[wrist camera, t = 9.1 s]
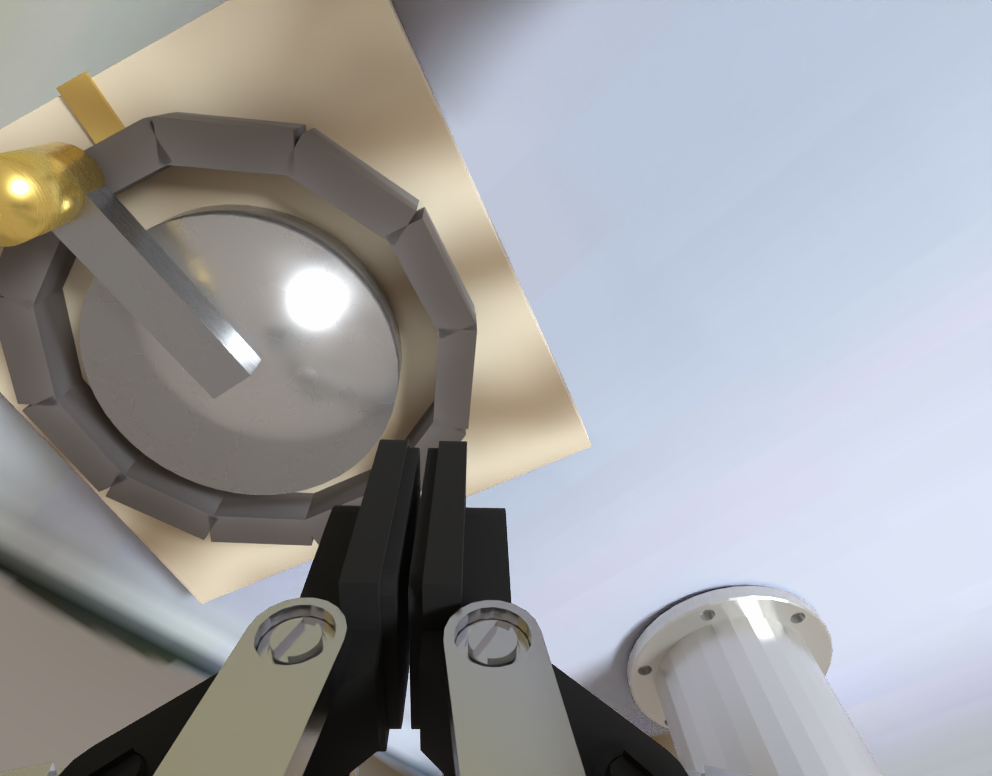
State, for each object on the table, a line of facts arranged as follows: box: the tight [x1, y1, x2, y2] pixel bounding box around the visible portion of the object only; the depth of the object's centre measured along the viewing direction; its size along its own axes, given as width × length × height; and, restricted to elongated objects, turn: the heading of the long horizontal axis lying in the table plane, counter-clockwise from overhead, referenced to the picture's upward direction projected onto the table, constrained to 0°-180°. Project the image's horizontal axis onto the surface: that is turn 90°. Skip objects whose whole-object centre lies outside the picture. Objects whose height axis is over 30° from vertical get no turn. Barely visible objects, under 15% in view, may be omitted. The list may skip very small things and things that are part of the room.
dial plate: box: [0, 0, 592, 604], centre depth 27 cm, size 22×22×4 cm
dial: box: [0, 142, 402, 495], centre depth 23 cm, size 16×12×6 cm
